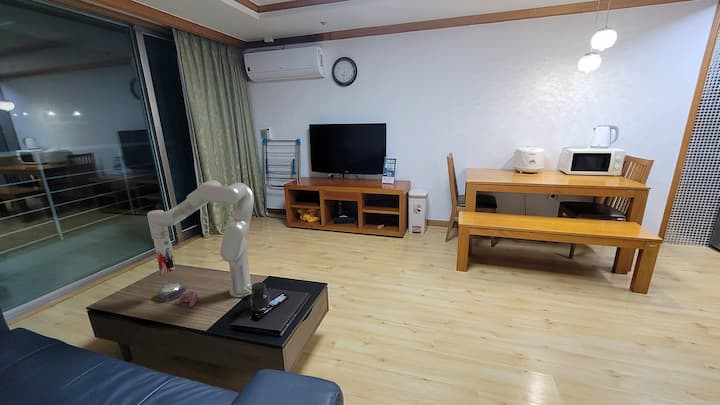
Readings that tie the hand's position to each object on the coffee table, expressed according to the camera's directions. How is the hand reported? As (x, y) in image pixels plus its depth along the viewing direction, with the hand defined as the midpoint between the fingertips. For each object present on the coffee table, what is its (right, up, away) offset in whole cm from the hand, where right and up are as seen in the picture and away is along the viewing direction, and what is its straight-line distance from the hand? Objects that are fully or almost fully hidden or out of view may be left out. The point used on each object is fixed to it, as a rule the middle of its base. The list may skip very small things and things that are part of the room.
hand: (166, 265), depth 158 cm
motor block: (-1, -17, +5) cm, 17 cm away
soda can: (0, -3, +1) cm, 3 cm away
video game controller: (+13, -19, -3) cm, 23 cm away
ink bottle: (+52, -19, -8) cm, 56 cm away
